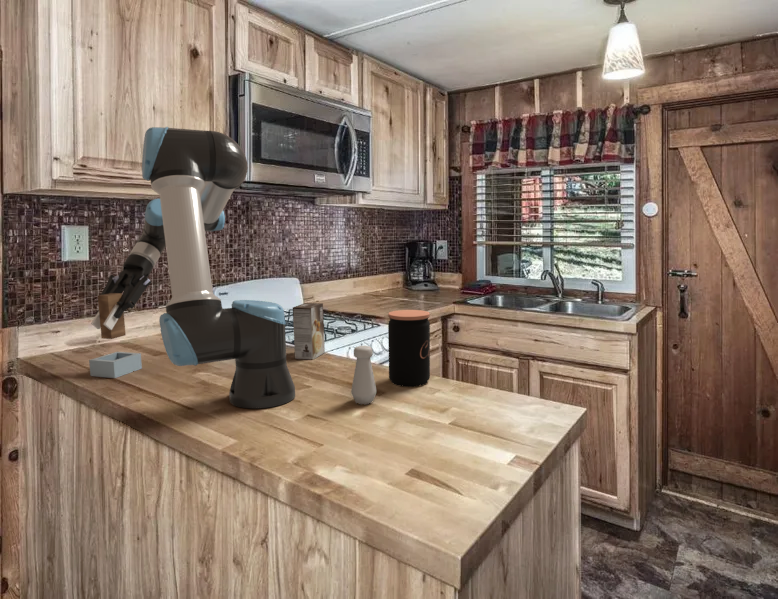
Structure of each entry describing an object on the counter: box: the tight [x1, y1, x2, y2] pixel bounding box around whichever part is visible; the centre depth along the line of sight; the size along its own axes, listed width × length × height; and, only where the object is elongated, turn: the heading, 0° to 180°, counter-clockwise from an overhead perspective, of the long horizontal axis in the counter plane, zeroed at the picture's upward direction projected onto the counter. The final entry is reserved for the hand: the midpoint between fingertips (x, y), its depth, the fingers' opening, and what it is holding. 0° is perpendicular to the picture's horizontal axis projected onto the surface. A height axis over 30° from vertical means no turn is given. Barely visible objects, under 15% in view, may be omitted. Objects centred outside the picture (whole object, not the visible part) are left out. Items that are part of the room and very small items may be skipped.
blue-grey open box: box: [88, 351, 143, 379], centre depth 149 cm, size 8×10×4 cm
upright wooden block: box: [97, 292, 126, 340], centre depth 147 cm, size 4×5×12 cm
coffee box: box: [292, 302, 326, 360], centre depth 164 cm, size 9×6×16 cm
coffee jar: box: [387, 309, 431, 388], centre depth 136 cm, size 11×11×18 cm
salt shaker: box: [350, 345, 377, 405], centre depth 121 cm, size 6×6×13 cm
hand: (101, 326), depth 144 cm, fingers closed on upright wooden block, 3 cm apart
